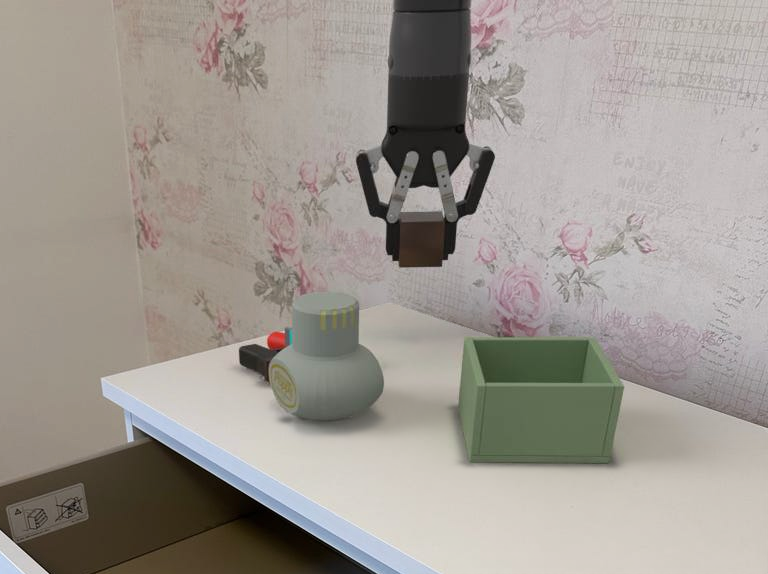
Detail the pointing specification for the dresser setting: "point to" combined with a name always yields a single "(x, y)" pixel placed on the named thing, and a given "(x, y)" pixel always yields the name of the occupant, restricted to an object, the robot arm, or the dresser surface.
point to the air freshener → (325, 361)
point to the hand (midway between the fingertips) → (419, 258)
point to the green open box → (538, 400)
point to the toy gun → (264, 352)
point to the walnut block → (421, 239)
